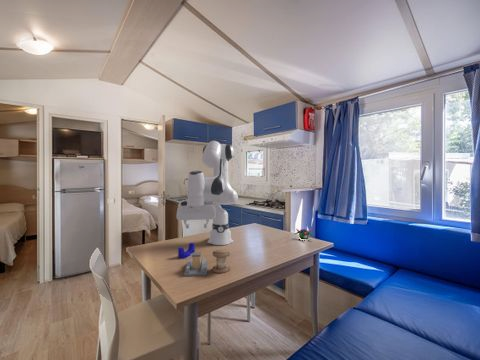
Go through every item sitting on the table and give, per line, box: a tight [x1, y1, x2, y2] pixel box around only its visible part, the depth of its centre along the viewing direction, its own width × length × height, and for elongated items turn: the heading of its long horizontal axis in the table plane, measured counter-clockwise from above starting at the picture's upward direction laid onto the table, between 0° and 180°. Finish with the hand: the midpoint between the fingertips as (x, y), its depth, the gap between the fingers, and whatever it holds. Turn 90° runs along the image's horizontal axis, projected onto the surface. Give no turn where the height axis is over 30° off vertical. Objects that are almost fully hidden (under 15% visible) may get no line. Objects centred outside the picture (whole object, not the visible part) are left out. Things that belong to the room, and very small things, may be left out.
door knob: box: [212, 249, 231, 274], centre depth 119 cm, size 9×9×9 cm
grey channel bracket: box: [183, 257, 208, 277], centre depth 120 cm, size 16×11×4 cm
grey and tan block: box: [191, 251, 202, 269], centre depth 120 cm, size 4×4×7 cm
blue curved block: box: [177, 242, 196, 260], centre depth 141 cm, size 12×4×6 cm, turn 154°
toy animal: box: [294, 228, 315, 239], centre depth 173 cm, size 11×15×10 cm
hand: (196, 227), depth 120 cm, fingers open, 8 cm apart
